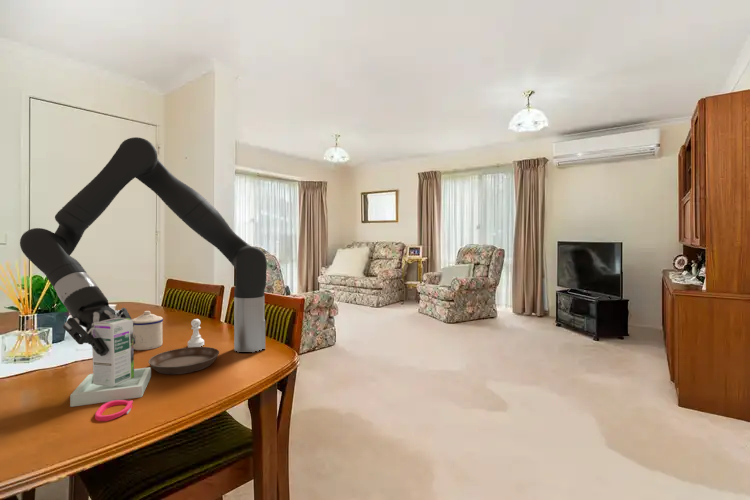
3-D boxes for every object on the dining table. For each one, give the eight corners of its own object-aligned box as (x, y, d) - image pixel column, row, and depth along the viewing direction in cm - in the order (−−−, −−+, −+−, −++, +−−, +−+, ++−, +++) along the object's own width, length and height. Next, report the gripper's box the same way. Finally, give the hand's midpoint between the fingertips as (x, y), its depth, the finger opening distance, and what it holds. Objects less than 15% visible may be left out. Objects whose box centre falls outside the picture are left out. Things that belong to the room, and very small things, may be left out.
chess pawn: (184, 346, 123) (184, 319, 122) (200, 342, 126) (200, 316, 126) (191, 349, 119) (191, 321, 119) (207, 345, 123) (206, 319, 123)
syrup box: (113, 387, 84) (113, 323, 83) (91, 384, 85) (91, 321, 84) (134, 378, 89) (134, 318, 89) (114, 375, 90) (113, 316, 90)
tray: (150, 376, 96) (150, 367, 96) (142, 396, 84) (141, 386, 84) (89, 384, 90) (89, 374, 90) (70, 406, 79) (70, 395, 78)
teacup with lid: (166, 341, 127) (165, 308, 127) (159, 349, 119) (159, 313, 118) (125, 344, 123) (124, 309, 123) (116, 352, 115) (115, 315, 114)
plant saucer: (132, 372, 99) (132, 361, 99) (187, 353, 116) (186, 343, 116) (183, 382, 93) (182, 370, 93) (232, 360, 110) (232, 350, 110)
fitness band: (125, 420, 74) (125, 412, 74) (90, 425, 72) (90, 417, 72) (135, 402, 82) (135, 396, 82) (104, 406, 80) (104, 399, 79)
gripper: (56, 289, 81) (96, 348, 79) (118, 281, 95) (154, 331, 92) (39, 311, 83) (78, 369, 80) (102, 300, 97) (138, 350, 94)
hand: (119, 349), depth 86 cm, fingers closed on syrup box, 6 cm apart
